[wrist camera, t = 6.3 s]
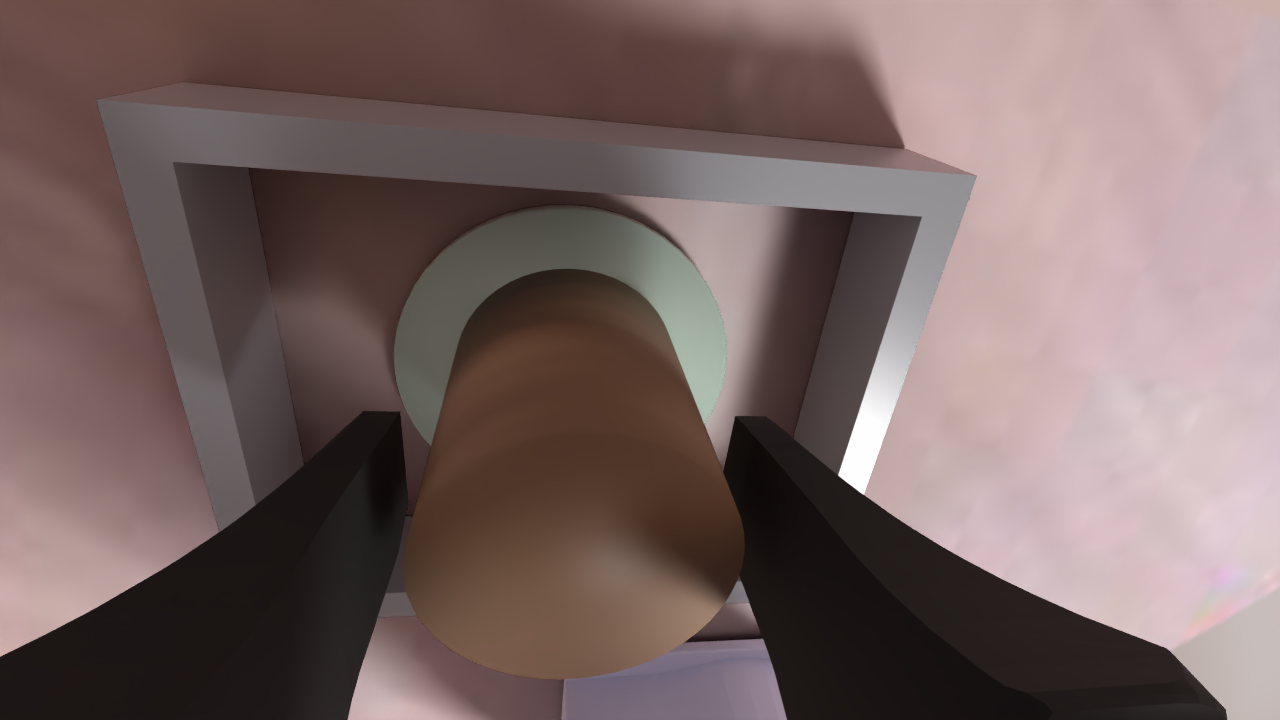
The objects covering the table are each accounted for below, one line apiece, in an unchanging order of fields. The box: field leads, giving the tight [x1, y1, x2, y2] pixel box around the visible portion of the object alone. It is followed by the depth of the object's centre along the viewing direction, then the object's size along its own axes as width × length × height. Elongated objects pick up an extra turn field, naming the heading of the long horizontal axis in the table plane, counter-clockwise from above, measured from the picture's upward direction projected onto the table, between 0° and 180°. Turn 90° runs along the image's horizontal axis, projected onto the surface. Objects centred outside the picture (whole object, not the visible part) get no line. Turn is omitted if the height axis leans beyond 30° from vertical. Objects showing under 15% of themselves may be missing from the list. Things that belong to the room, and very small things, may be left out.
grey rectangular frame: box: [96, 82, 977, 617], centre depth 14 cm, size 14×11×2 cm
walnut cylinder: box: [403, 269, 745, 679], centre depth 12 cm, size 5×5×6 cm
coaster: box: [394, 205, 727, 446], centre depth 15 cm, size 8×8×1 cm
